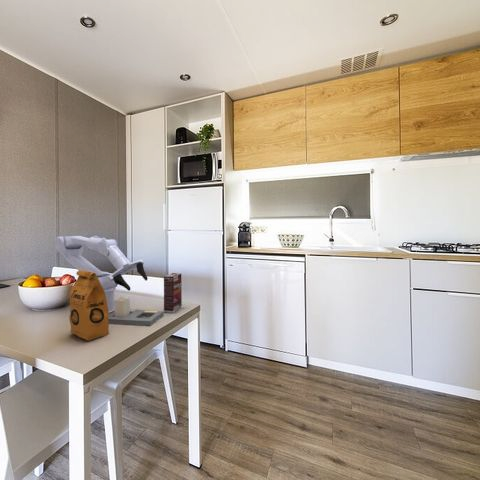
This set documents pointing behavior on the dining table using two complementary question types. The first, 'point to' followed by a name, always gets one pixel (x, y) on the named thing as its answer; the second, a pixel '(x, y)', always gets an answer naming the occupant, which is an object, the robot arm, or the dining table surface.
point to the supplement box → (172, 292)
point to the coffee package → (88, 307)
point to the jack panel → (136, 318)
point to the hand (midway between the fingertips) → (138, 284)
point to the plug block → (122, 307)
